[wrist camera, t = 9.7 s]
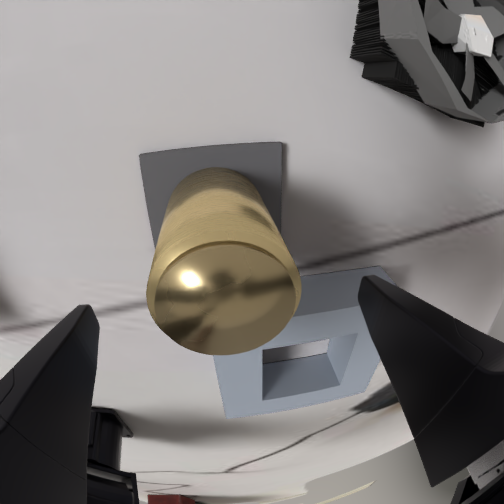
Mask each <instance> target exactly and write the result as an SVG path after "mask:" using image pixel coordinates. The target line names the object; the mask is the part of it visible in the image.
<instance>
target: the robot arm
mask: <svg viewBox="0 0 504 504" xmlns="http://www.w3.org/2000/svg"><path fill="white" fill-rule="evenodd" d="M358 303H359V305H360V308H361V311H362V314H363V316H364V319H365V322H366V325H367V328H368V331H369V334H370V336H371V339H372V341H373V343H374V345H375V348H376V350H377V352H378V354H379V356H380V358H381V361H382V363H383V365H384V367H385V370H386V372H387V374H388V376H389V379H390V381H391V383H392V386H393V388H394V390H395V393H396V395H397V397H398V400H399V402H400V405H401V407H402V409H403V412H404V414H405V417H406V419H407V422H408V424H409V427H410V430H411V432H412V435H413V437H414V441H415V443H416V446H417V449H418V451H419V454H420V457H421V460H422V462H423V465H424V468H425V471H426V474H427V476H428V479H429V483H430V485H431V487H434V486H436V485H438V484H439V483H441V482H443V481H445V480H446V479H448V478H450V477H451V476H453V475H455V474H456V473H458V472H459V471H461V470H463V469H464V468H466V467H467V469H468V471H469V473H470V475H469V476H468V477H466V478H465V479H463V480H462V481H460V482H459V483H458V485H457V488H456V491H455V494H454V496H453V499H452V502H451V504H504V343H503V342H501V341H499V340H497V339H495V338H493V337H491V336H489V335H486V334H484V333H482V332H480V331H478V330H476V329H474V328H472V327H471V326H469V325H467V324H465V323H463V322H461V321H460V320H458V319H456V318H454V317H452V316H451V315H449V314H447V313H445V312H443V311H442V310H440V309H438V308H436V307H434V306H433V305H431V304H429V303H427V302H425V301H423V300H421V299H420V298H418V297H416V296H414V295H412V294H410V293H408V292H407V291H405V290H403V289H401V288H399V287H397V286H395V285H393V284H391V283H389V282H388V281H386V280H384V279H382V278H380V277H378V276H376V275H373V274H372V275H365V276H363V277H362V279H361V283H360V287H359V291H358ZM99 331H100V327H99V323H98V320H97V318H96V316H95V314H94V311H93V309H92V307H91V306H90V305H88V304H87V305H78V306H77V307H76V308H75V309H74V310H73V311H71V312H70V313H69V314H68V315H67V316H66V317H65V318H64V319H63V320H62V321H60V322H59V323H58V324H57V325H56V326H55V327H54V328H53V329H52V330H51V331H50V332H49V333H48V334H46V335H45V336H44V337H43V338H42V339H41V340H40V341H39V342H38V343H37V344H36V345H35V346H34V347H33V348H32V349H31V350H30V351H29V352H28V353H27V354H26V355H25V356H24V357H23V358H22V359H21V360H20V361H19V362H18V363H17V364H16V365H15V366H14V368H12V369H11V370H10V371H9V372H8V373H7V374H6V375H5V376H4V377H3V378H2V379H1V380H0V504H139V498H138V490H137V481H136V473H128V472H124V471H120V460H121V445H122V437H133V433H132V432H131V431H130V429H129V428H128V427H127V426H126V425H125V423H124V422H123V421H122V420H121V419H120V417H119V416H118V415H117V414H116V412H115V411H113V410H108V409H92V408H91V406H92V398H93V390H94V383H95V377H96V369H97V356H98V342H99Z"/></svg>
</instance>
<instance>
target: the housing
mask: <svg viewBox="0 0 504 504" xmlns="http://www.w3.org/2000/svg"><path fill="white" fill-rule="evenodd" d="M372 274H373V275H376V276H378V277H380V278H382V279H384V280H386V281H388V282H389V283H391V284H393V285H395V286H396V284H395V283H394V282H393V281H392V280H391V278H390V277H389V276H388V275H387V274H386V272H385V271H384V270H383V269H382V268H381V266H376V267H369V268H362V269H355V270H347V271H340V272H332V273H325V274H317V275H309V276H301V277H300V278H301V297H300V302H299V305H298V308H297V309H296V311H295V313H294V315H293V317H292V318H291V320H290V321H289V322H288V324H287V325H286V327H285V328H284V329H283V330H282V331H281V332H280V333H279V334H278V335H277V336H276V337H275V338H273V339H272V340H271V341H269V342H268V343H266V344H264V345H262V346H260V347H258V348H256V349H253V350H250V351H248V352H244V353H240V354H234V355H213V358H214V363H215V368H216V373H217V378H218V383H219V388H220V392H221V397H222V401H223V406H224V411H225V415H226V419H230V418H239V417H247V416H254V415H261V414H268V413H274V412H280V411H286V410H291V409H296V408H301V407H306V406H311V405H315V404H320V403H324V402H328V401H332V400H336V399H340V398H344V397H348V396H352V395H355V394H359V393H362V392H365V390H366V388H367V386H368V384H369V382H370V380H371V378H372V376H373V374H374V372H375V370H376V367H377V365H378V363H379V361H380V359H381V358H380V356H379V354H378V352H377V350H376V348H375V345H374V343H373V341H372V339H371V336H370V334H369V331H368V328H367V325H366V322H365V319H364V316H363V314H362V311H361V308H360V305H359V303H358V291H359V287H360V283H361V279H362V277H363V276H365V275H372ZM325 339H330V342H329V346H328V350H327V353H325V354H320V355H315V356H310V357H305V358H299V359H293V360H287V361H281V362H275V363H268V364H262V350H264V349H271V348H278V347H284V346H291V345H297V344H303V343H308V342H314V341H319V340H325Z"/></svg>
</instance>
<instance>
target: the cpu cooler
mask: <svg viewBox="0 0 504 504" xmlns="http://www.w3.org/2000/svg"><path fill="white" fill-rule="evenodd" d="M359 1H360V2H359V3H360V4H358V5H359V6H358V7H359V8H358V9H361V10H359V12H357V13H360V14H357V17H356V18H358V19H356V20H357V21H356V24H358V25H356V26H355V27H356V28H355V29H356V30H357V31H354V32H355V33H354V34H356V35H354V37H353V38H354V39H353V41H355V42H353V43H355V45H353V46H352V48H354V49H351V50H352V51H351V53H353V54H350V55H351V56H350V58H353V59H356V60H359V61H362V62H364V63H365V65H364V69H363V73H362V77H363V78H366V79H369V80H371V81H374V82H376V83H379V84H382V85H384V86H387V87H389V88H392V89H394V90H396V91H398V92H401V93H403V94H405V95H407V96H409V97H412V98H414V99H416V100H418V101H421V102H422V103H424V104H426V105H428V106H430V107H432V108H434V109H436V110H438V111H440V112H441V113H443V114H445V115H448V116H449V117H451V118H454V119H458V120H461V121H465V122H468V123H471V124H474V125H478V126H481V127H484V122H487V123H496V122H500V121H504V0H359Z"/></svg>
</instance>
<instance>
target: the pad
mask: <svg viewBox="0 0 504 504" xmlns="http://www.w3.org/2000/svg"><path fill="white" fill-rule="evenodd" d="M139 158H140V166H141V173H142V179H143V186H144V192H145V198H146V204H147V209H148V215H149V220H150V225H151V231H152V236H153V241H154V245H155V250H156V246H157V242H158V238H159V234H160V231H161V227H162V223H163V220H164V216H165V213H166V209H167V206H168V202H169V199H170V196H171V194H172V192H173V190H174V189H175V188H176V186H177V185H178V184H179V183H180V182H181V181H182V180H183V179H184V178H185V177H186V176H188V175H190V174H191V173H193V172H196V171H198V170H201V169H204V168H210V167H221V168H227V169H231V170H234V171H237V172H239V173H240V174H242V175H244V176H245V177H246V178H248V179H249V180H250V181H251V182H252V183H253V185H254V186H255V187H256V189H257V191H258V192H259V194H260V196H261V198H262V200H263V202H264V204H265V206H266V208H267V210H268V212H269V213H270V215H271V217H272V219H273V221H274V223H275V225H276V227H277V229H278V231H279V233H280V234H281V179H282V143H281V142H259V143H239V144H224V145H212V146H201V147H191V148H182V149H173V150H165V151H158V152H151V153H144V154H140V155H139Z"/></svg>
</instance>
